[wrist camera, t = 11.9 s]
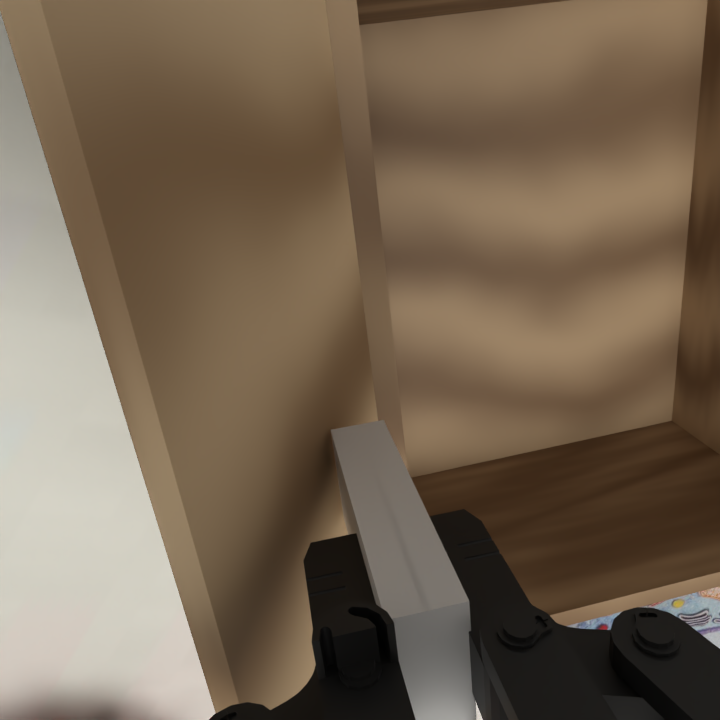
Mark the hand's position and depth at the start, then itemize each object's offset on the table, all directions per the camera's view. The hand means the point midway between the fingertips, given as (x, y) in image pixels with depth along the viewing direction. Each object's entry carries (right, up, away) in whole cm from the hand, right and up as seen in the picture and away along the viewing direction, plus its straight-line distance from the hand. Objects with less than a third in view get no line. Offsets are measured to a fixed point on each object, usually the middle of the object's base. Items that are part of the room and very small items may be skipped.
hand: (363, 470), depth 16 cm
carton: (+8, +8, +15) cm, 19 cm away
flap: (-1, 0, -1) cm, 1 cm away
